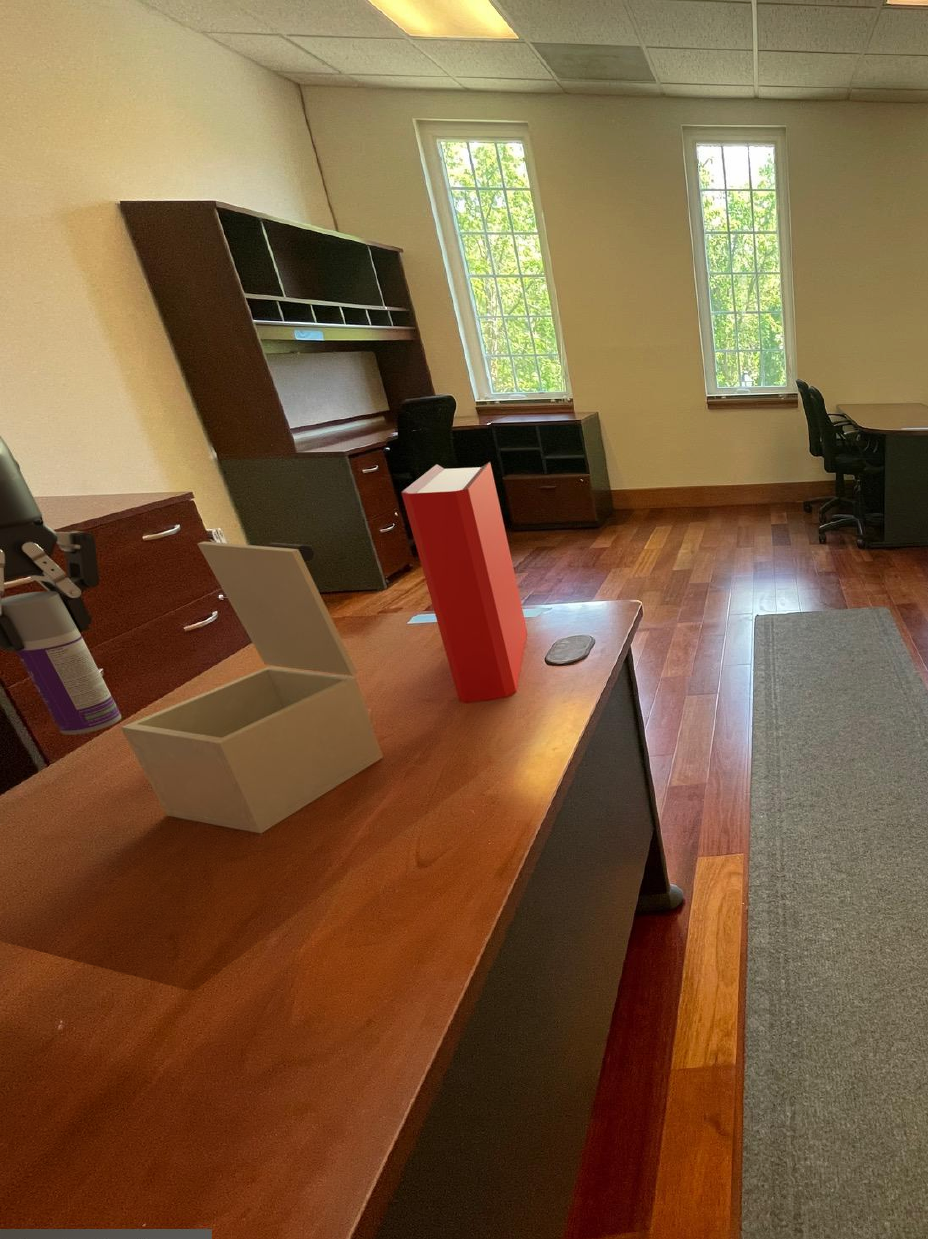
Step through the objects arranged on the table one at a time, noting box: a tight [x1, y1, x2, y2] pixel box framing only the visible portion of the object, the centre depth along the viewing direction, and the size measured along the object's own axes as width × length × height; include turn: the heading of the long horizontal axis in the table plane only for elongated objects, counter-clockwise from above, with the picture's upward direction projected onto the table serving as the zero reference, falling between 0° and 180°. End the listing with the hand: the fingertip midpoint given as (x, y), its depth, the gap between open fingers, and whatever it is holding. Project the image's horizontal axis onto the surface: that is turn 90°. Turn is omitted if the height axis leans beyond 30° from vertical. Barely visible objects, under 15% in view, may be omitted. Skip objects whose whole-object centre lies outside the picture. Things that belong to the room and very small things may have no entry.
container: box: [1, 590, 122, 736], centre depth 71 cm, size 5×5×15 cm
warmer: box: [120, 665, 384, 834], centre depth 80 cm, size 16×14×12 cm
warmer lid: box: [197, 540, 358, 677], centre depth 82 cm, size 17×14×5 cm
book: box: [401, 461, 528, 704], centre depth 108 cm, size 27×8×32 cm, turn 21°
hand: (46, 639), depth 70 cm, fingers closed on container, 4 cm apart
